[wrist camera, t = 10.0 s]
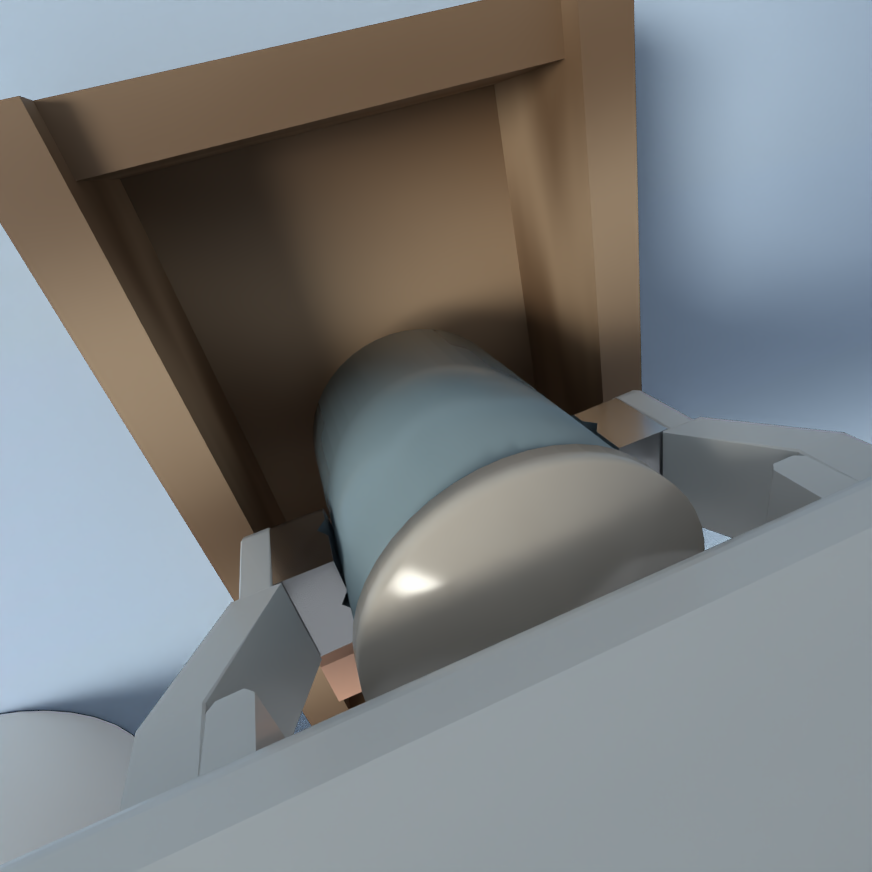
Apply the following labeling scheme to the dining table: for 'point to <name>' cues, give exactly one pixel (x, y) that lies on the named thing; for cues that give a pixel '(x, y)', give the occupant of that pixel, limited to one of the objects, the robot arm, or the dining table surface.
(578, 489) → the jar
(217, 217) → the brown wooden open box
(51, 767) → the cylindrical container
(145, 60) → the dining table surface
